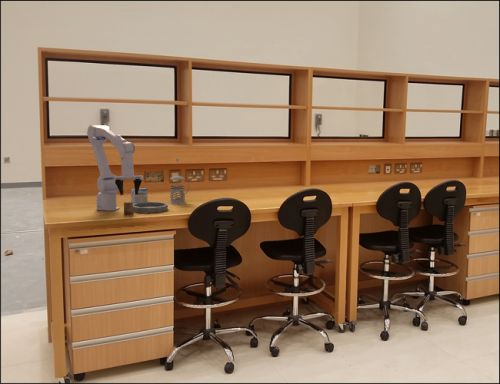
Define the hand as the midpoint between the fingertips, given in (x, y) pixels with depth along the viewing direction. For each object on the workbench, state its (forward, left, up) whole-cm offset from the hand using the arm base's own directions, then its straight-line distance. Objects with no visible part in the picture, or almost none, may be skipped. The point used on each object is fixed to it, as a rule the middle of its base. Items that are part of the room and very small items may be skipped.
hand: (129, 194), depth 240 cm
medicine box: (-7, +28, -10) cm, 30 cm away
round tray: (+5, +14, -10) cm, 17 cm away
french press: (+12, +39, -10) cm, 42 cm away
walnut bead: (0, 0, -10) cm, 10 cm away
